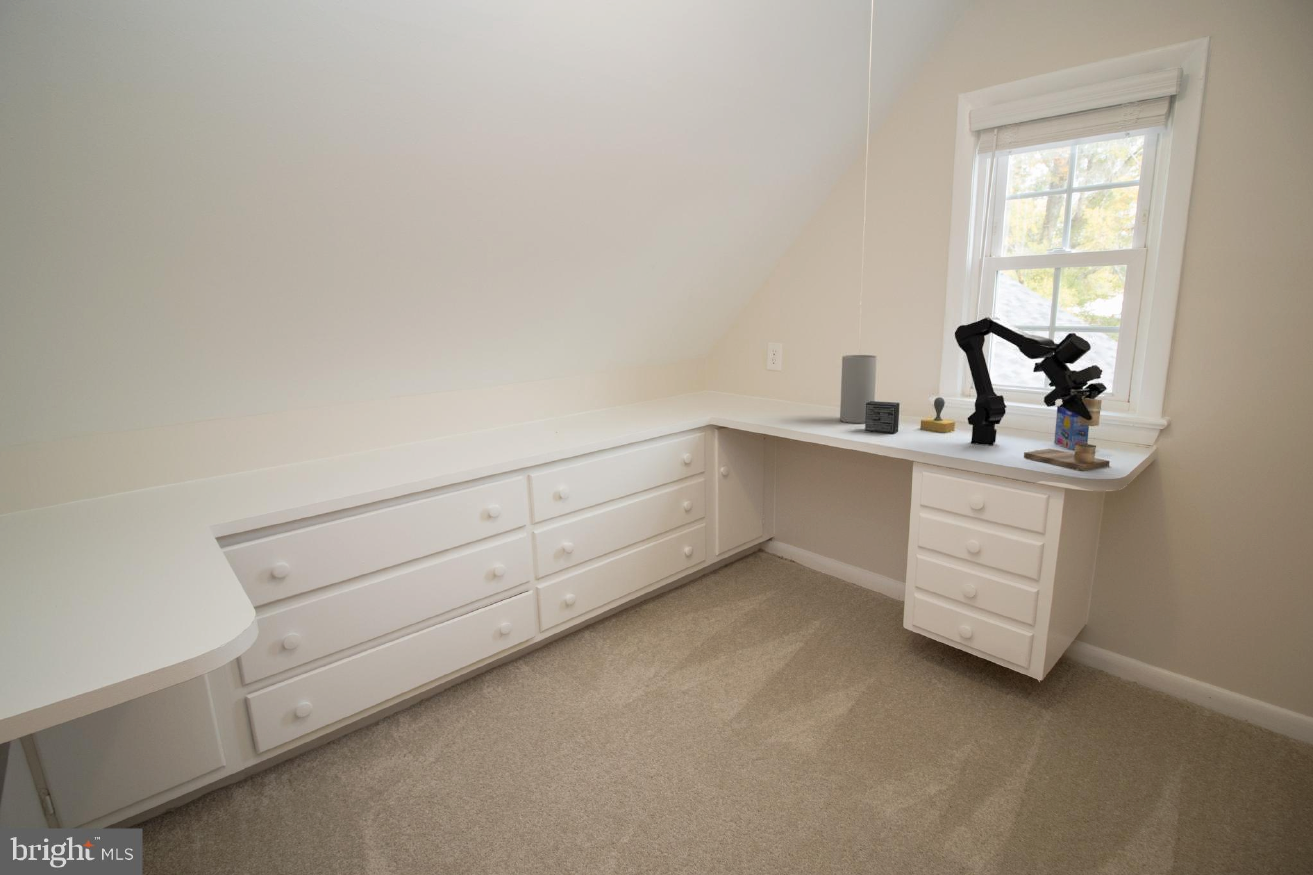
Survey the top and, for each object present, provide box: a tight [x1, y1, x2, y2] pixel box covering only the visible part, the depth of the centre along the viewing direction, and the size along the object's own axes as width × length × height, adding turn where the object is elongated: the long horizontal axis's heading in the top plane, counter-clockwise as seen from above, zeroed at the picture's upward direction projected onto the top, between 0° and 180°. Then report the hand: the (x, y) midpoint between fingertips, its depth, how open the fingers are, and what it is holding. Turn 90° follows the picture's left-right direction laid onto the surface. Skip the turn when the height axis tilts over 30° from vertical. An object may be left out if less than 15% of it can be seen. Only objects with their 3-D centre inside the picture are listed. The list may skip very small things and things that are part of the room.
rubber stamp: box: [919, 396, 956, 434], centre depth 230 cm, size 10×6×12 cm, turn 35°
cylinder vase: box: [839, 354, 878, 425], centre depth 249 cm, size 12×12×25 cm
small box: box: [864, 401, 900, 435], centre depth 230 cm, size 11×6×10 cm, turn 58°
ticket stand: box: [1023, 443, 1111, 471], centre depth 184 cm, size 18×11×6 cm, turn 24°
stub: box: [1078, 398, 1103, 427], centre depth 177 cm, size 4×2×7 cm, turn 24°
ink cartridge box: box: [1054, 405, 1090, 450], centre depth 201 cm, size 10×6×14 cm, turn 174°
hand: (1093, 419), depth 176 cm, fingers closed on stub, 2 cm apart
